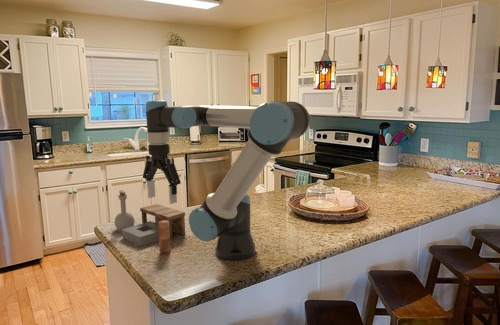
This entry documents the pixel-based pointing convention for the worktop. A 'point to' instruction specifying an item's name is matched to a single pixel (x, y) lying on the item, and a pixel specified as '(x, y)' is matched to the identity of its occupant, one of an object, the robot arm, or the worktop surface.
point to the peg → (164, 237)
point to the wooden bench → (166, 217)
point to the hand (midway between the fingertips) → (162, 200)
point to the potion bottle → (123, 214)
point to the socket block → (142, 233)
